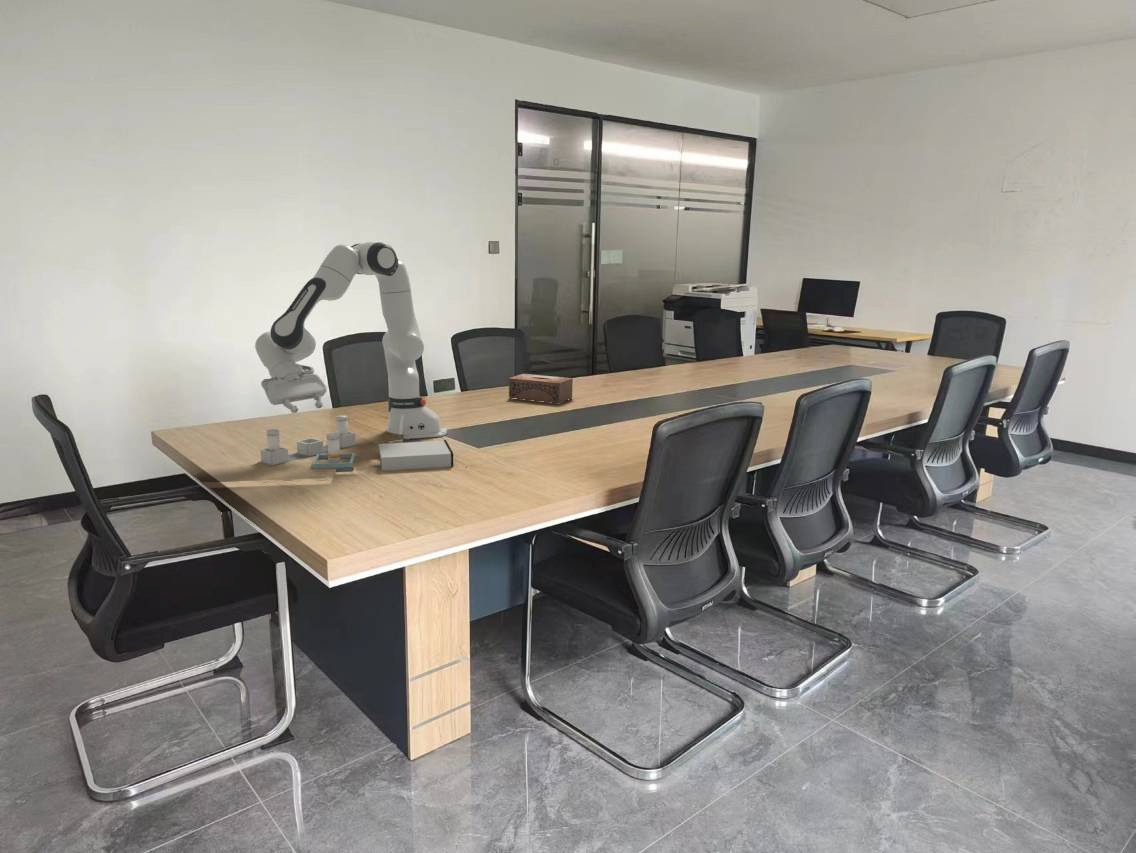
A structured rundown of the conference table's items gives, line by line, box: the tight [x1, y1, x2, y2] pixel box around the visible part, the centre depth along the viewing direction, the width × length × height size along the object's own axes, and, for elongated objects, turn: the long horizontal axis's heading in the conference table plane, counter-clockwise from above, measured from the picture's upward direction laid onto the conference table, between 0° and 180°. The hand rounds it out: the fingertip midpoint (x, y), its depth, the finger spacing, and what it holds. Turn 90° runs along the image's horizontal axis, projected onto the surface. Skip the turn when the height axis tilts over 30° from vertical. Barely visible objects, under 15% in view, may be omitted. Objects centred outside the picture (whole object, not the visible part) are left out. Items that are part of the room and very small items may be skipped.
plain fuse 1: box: [266, 428, 281, 452], centre depth 246 cm, size 4×4×10 cm
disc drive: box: [378, 439, 454, 472], centre depth 255 cm, size 18×22×5 cm
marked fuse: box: [326, 432, 342, 463], centre depth 246 cm, size 4×4×10 cm
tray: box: [311, 452, 356, 473], centre depth 247 cm, size 12×12×3 cm
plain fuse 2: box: [335, 414, 349, 436], centre depth 268 cm, size 4×4×10 cm
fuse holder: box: [257, 430, 359, 467], centre depth 258 cm, size 7×35×6 cm, turn 145°
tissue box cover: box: [508, 373, 574, 404], centre depth 362 cm, size 26×14×10 cm, turn 66°
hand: (308, 409), depth 250 cm, fingers open, 8 cm apart
